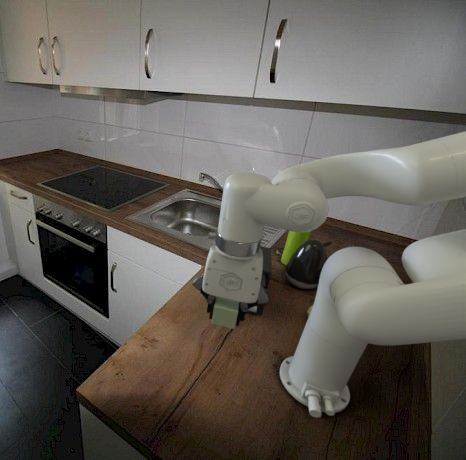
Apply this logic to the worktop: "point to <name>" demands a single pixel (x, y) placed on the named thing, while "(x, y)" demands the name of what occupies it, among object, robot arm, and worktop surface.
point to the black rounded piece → (307, 264)
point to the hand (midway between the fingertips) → (224, 317)
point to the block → (225, 312)
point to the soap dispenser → (293, 244)
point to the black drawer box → (267, 264)
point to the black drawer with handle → (260, 307)
